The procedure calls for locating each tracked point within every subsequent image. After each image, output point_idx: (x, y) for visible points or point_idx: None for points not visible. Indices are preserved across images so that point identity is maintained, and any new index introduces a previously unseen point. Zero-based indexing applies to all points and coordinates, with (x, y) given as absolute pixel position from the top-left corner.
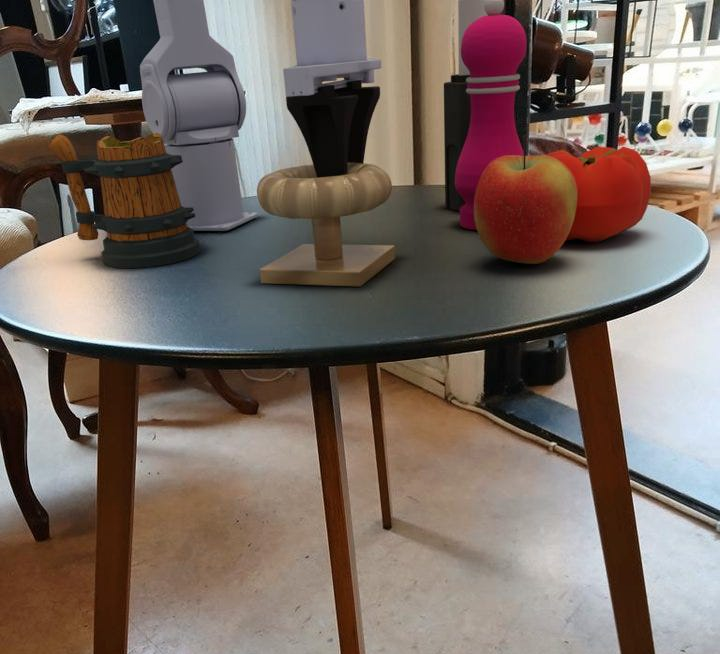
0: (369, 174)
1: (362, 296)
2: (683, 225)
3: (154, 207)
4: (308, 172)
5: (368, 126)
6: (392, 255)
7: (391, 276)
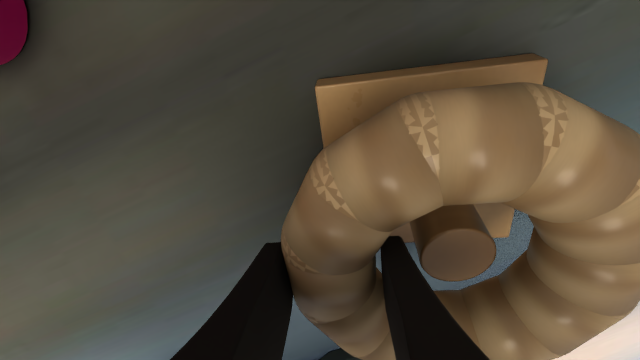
0: (557, 142)
1: (603, 17)
2: None
3: None
4: None
5: (189, 349)
6: (334, 79)
7: (448, 25)
